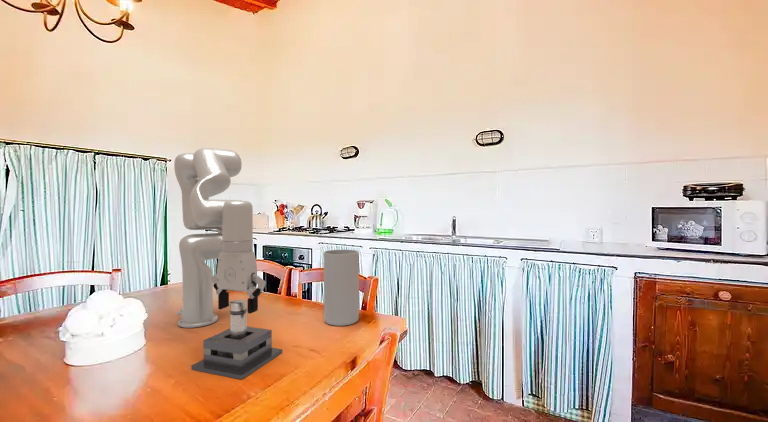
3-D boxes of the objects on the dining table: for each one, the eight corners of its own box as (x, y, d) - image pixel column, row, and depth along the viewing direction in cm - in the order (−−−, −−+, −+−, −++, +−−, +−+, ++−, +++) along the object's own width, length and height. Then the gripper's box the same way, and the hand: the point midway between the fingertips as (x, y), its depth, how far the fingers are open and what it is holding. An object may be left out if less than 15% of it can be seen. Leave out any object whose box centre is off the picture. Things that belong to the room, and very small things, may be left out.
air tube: (227, 359, 92) (226, 303, 91) (238, 352, 96) (237, 299, 95) (239, 361, 90) (238, 304, 90) (250, 354, 94) (249, 300, 94)
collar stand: (191, 369, 88) (190, 342, 88) (236, 345, 103) (236, 322, 103) (241, 379, 83) (241, 350, 83) (282, 352, 98) (282, 328, 98)
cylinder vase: (344, 329, 116) (344, 255, 116) (316, 322, 123) (316, 252, 123) (365, 318, 127) (365, 251, 127) (339, 313, 134) (338, 248, 133)
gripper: (201, 246, 92) (201, 310, 92) (254, 250, 86) (254, 318, 87) (223, 243, 99) (223, 302, 100) (273, 246, 93) (273, 309, 94)
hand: (237, 309), depth 93 cm, fingers open, 9 cm apart
